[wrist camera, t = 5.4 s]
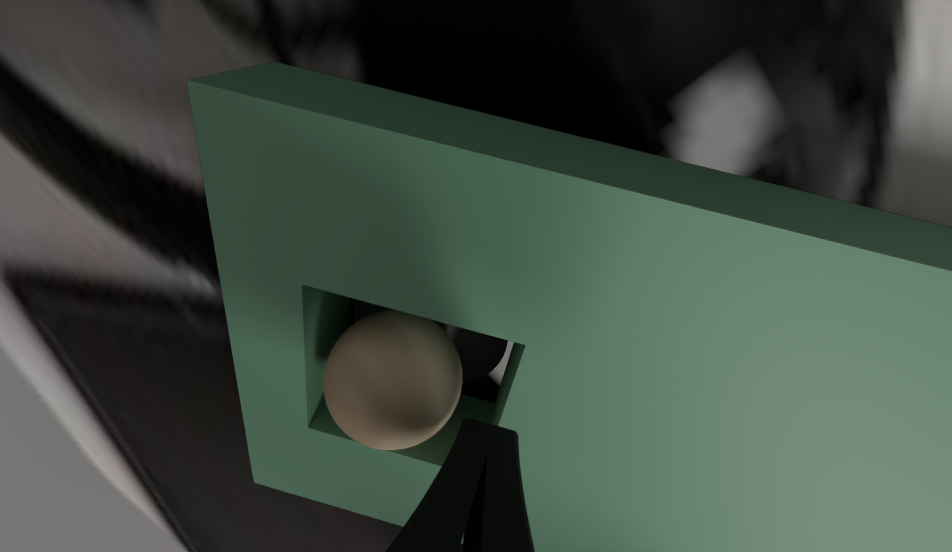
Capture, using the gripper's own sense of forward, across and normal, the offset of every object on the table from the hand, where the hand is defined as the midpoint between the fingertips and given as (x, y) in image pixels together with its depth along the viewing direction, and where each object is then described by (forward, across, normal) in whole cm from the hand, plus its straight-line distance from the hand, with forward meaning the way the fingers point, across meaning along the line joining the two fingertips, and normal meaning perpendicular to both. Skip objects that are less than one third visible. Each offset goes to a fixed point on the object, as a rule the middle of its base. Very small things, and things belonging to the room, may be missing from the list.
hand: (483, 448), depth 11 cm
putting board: (+4, -4, 0) cm, 6 cm away
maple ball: (+2, +3, 0) cm, 3 cm away
